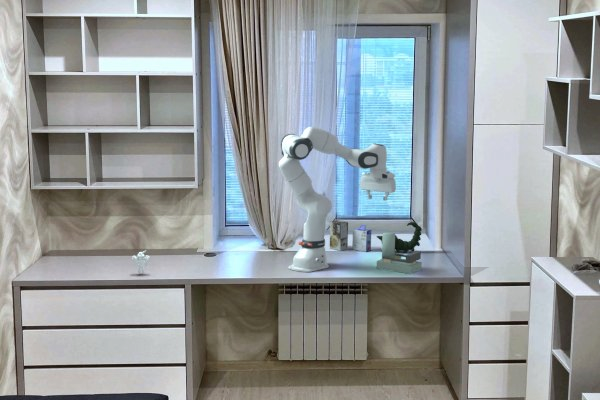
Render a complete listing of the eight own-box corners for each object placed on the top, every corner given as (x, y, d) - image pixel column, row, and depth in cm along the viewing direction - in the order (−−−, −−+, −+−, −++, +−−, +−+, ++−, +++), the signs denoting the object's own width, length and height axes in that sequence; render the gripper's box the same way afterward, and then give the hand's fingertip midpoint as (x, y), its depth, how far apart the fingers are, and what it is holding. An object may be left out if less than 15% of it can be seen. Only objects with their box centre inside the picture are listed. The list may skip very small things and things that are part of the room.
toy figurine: (417, 253, 445) (374, 248, 446) (421, 221, 442) (378, 216, 443) (419, 257, 436) (375, 252, 437) (423, 224, 433) (378, 219, 434)
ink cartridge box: (371, 250, 445) (372, 225, 442) (366, 252, 440) (366, 227, 438) (357, 247, 451) (357, 223, 448) (351, 249, 446) (352, 225, 444)
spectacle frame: (409, 263, 393) (409, 255, 392) (381, 258, 402) (381, 251, 401) (420, 258, 402) (420, 251, 402) (392, 254, 412) (393, 247, 411)
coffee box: (348, 249, 446) (348, 222, 444) (340, 251, 442) (340, 223, 439) (336, 246, 453) (337, 219, 450) (329, 248, 449) (329, 221, 446)
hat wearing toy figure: (150, 272, 393) (150, 249, 391) (149, 274, 389) (148, 251, 387) (132, 272, 392) (132, 249, 390) (131, 274, 389) (130, 251, 387)
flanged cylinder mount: (410, 274, 393) (411, 239, 390) (376, 268, 404) (377, 234, 401) (421, 269, 403) (422, 235, 400) (387, 263, 414) (388, 230, 411)
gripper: (358, 172, 415) (357, 198, 417) (391, 176, 403) (391, 202, 405) (364, 171, 420) (363, 196, 422) (397, 174, 408) (396, 200, 411)
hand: (377, 199), depth 414 cm, fingers open, 8 cm apart
